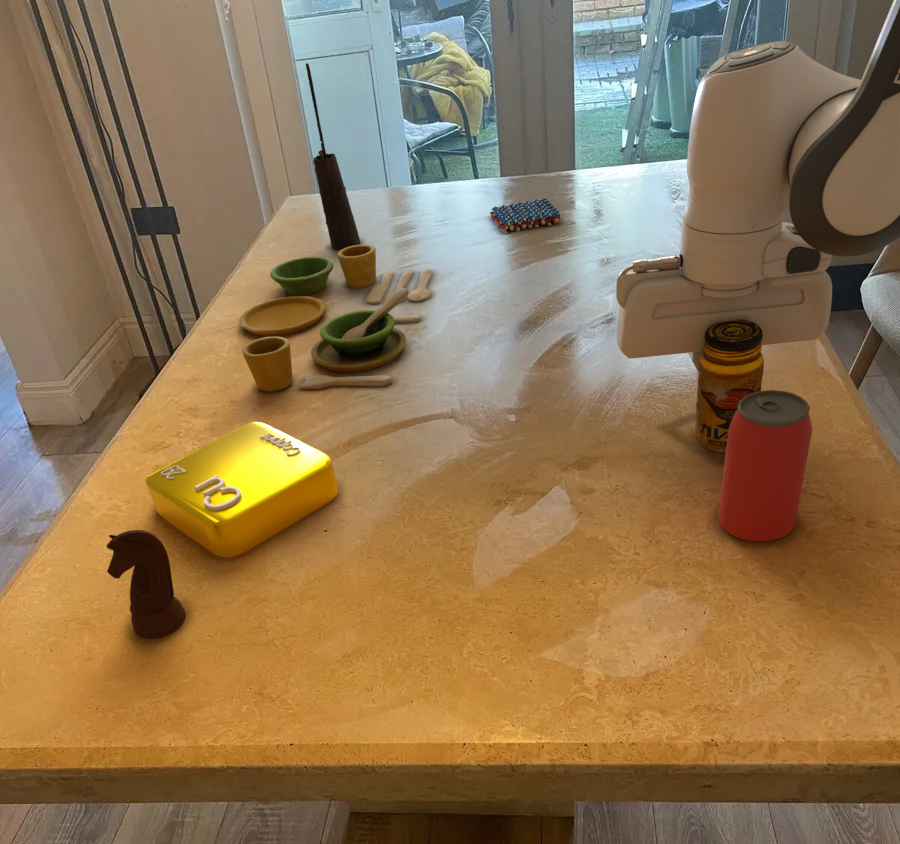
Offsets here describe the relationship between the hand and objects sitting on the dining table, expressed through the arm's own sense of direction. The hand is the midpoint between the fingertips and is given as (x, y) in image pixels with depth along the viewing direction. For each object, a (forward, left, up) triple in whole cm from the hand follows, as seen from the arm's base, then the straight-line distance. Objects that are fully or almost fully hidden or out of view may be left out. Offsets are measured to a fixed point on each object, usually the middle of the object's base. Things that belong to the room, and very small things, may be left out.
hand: (713, 385), depth 88 cm
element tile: (+50, +6, -5) cm, 50 cm away
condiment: (0, +3, -4) cm, 5 cm away
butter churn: (+45, -74, -5) cm, 87 cm away
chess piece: (+55, +24, -5) cm, 60 cm away
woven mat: (+13, -74, -5) cm, 76 cm away
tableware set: (+45, -38, -5) cm, 59 cm away
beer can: (+1, +19, -5) cm, 19 cm away
